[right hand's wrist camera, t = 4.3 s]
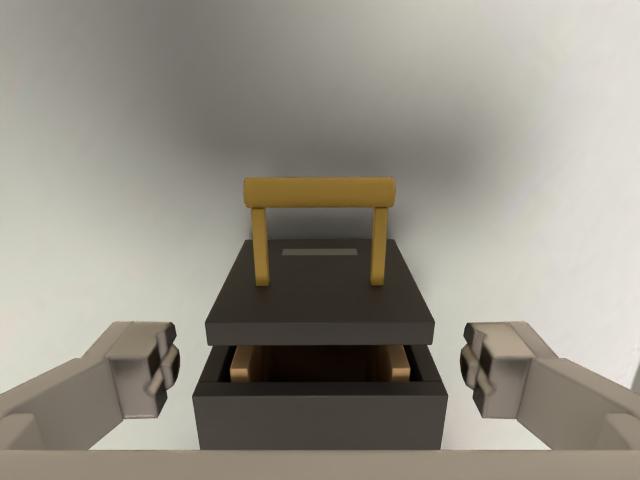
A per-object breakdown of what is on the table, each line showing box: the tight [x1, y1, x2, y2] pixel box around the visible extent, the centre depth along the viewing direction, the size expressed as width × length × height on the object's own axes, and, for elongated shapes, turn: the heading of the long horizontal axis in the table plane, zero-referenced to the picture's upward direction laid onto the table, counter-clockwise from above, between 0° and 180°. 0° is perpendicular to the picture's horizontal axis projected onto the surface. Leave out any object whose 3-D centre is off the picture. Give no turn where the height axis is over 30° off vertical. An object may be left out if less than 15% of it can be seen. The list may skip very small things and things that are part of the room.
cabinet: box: [192, 345, 448, 450], centre depth 25 cm, size 21×11×11 cm, turn 0°
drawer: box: [205, 177, 435, 382], centre depth 23 cm, size 25×10×10 cm, turn 0°
